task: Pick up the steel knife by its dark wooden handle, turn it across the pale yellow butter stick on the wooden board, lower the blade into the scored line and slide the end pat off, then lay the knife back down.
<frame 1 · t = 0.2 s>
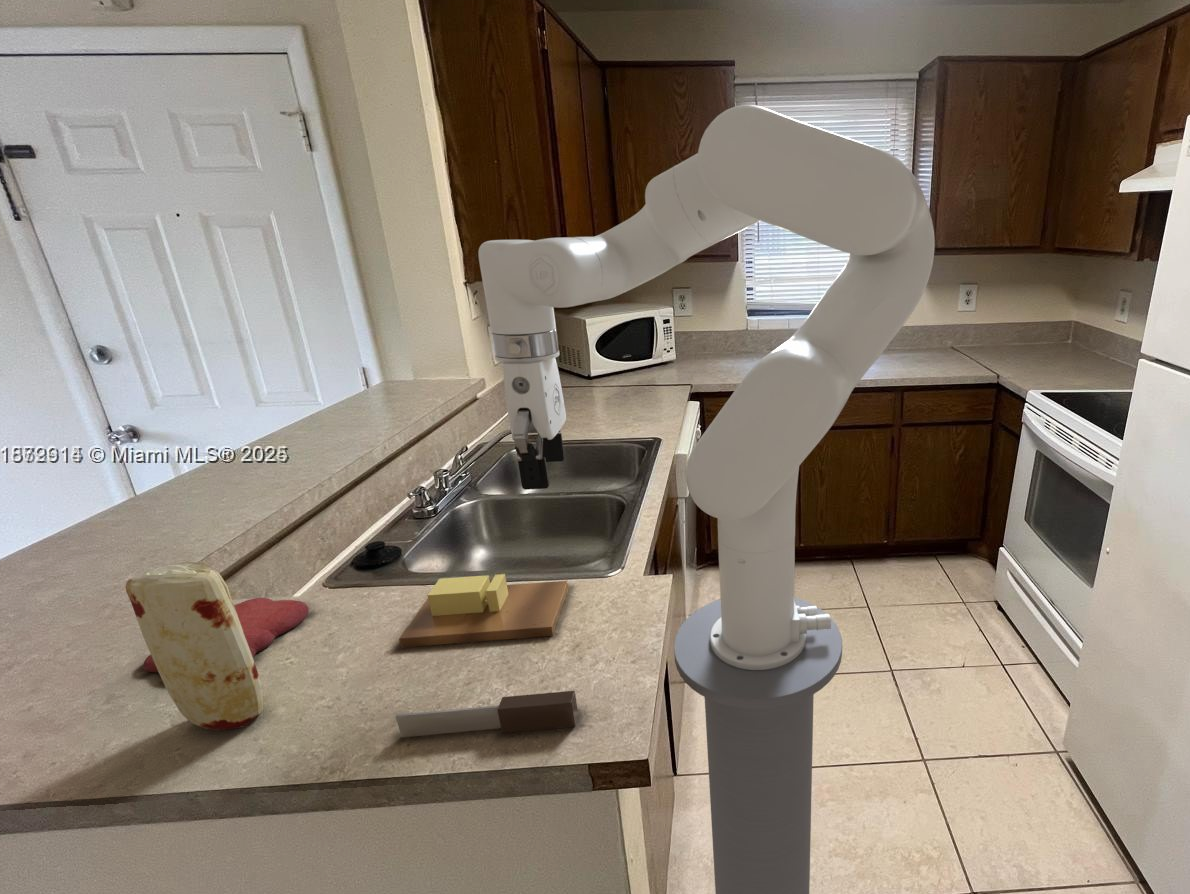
hand: (545, 473, 81), 22 cm above the counter, tool pointing down, fingers open, 9 cm apart
butter: (463, 605, 89), point 1 cm above the counter, touching cutting board
knife: (504, 727, 69), on the counter
butter pat: (499, 602, 90), point 1 cm above the counter, touching cutting board
food model: (232, 719, 71), on the counter
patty: (234, 640, 85), on the counter
cutting board: (491, 616, 89), on the counter
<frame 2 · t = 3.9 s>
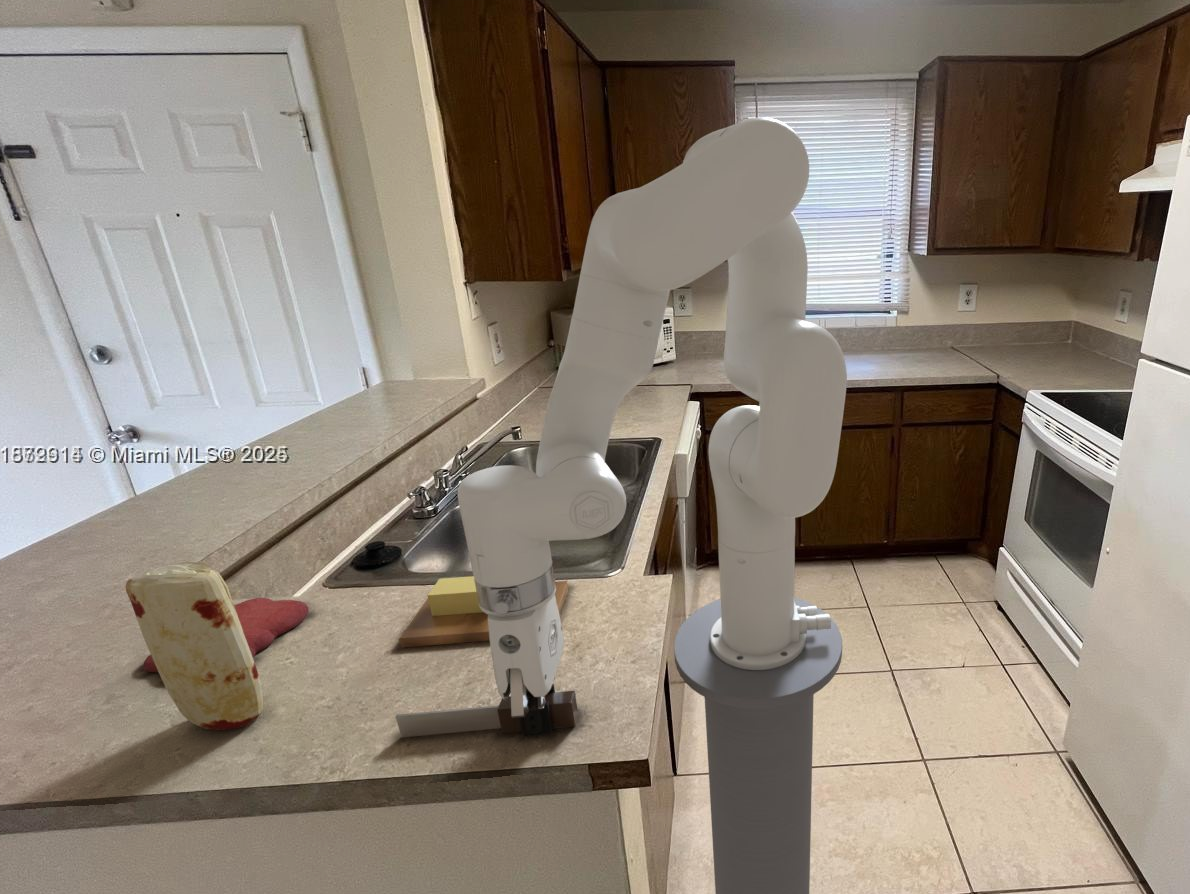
hand: (540, 722, 69), 0 cm above the counter, tool pointing down, fingers closed on knife, 2 cm apart
knife: (504, 727, 69), on the counter, touching gripper
everything else where it was.
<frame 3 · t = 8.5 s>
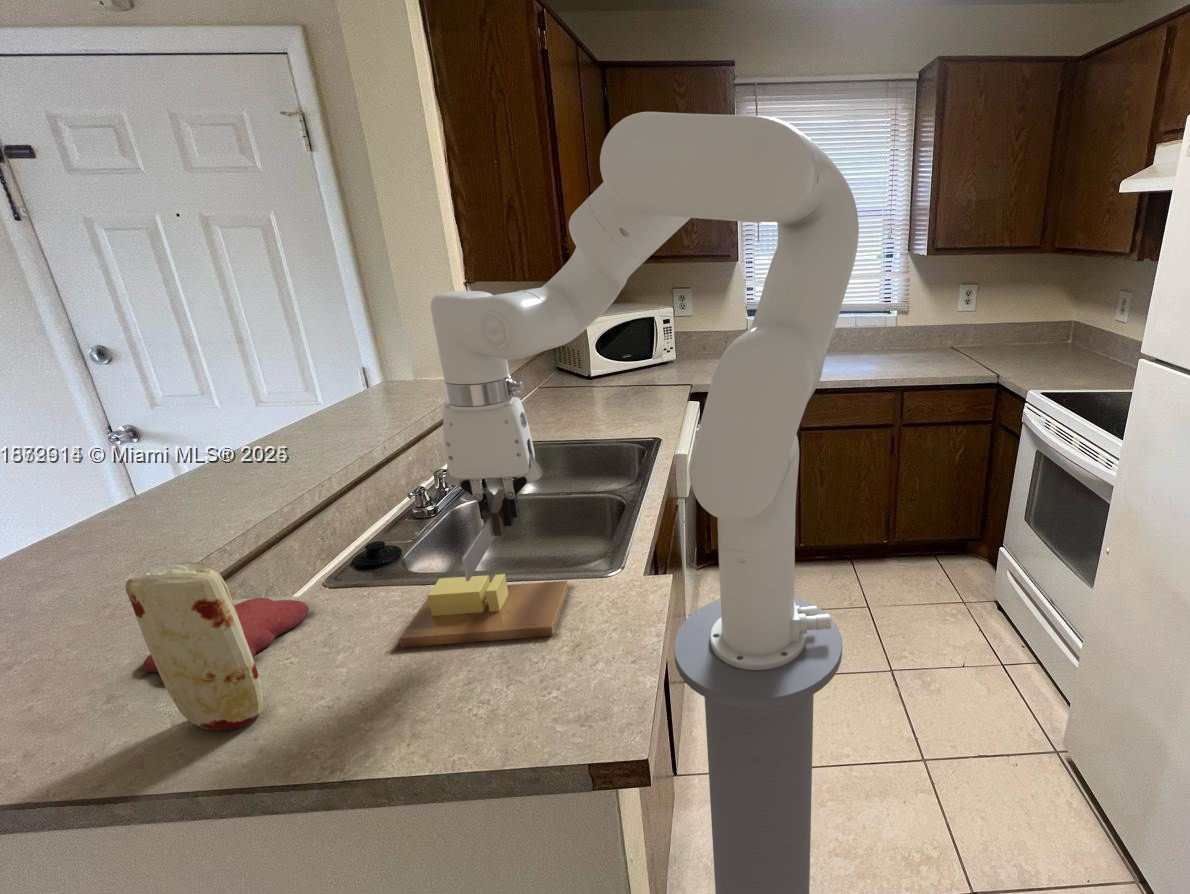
hand: (501, 521, 84), 15 cm above the counter, tool pointing down, fingers closed on knife
knife: (494, 536, 80), point 15 cm above the counter, touching gripper
everything else where it was.
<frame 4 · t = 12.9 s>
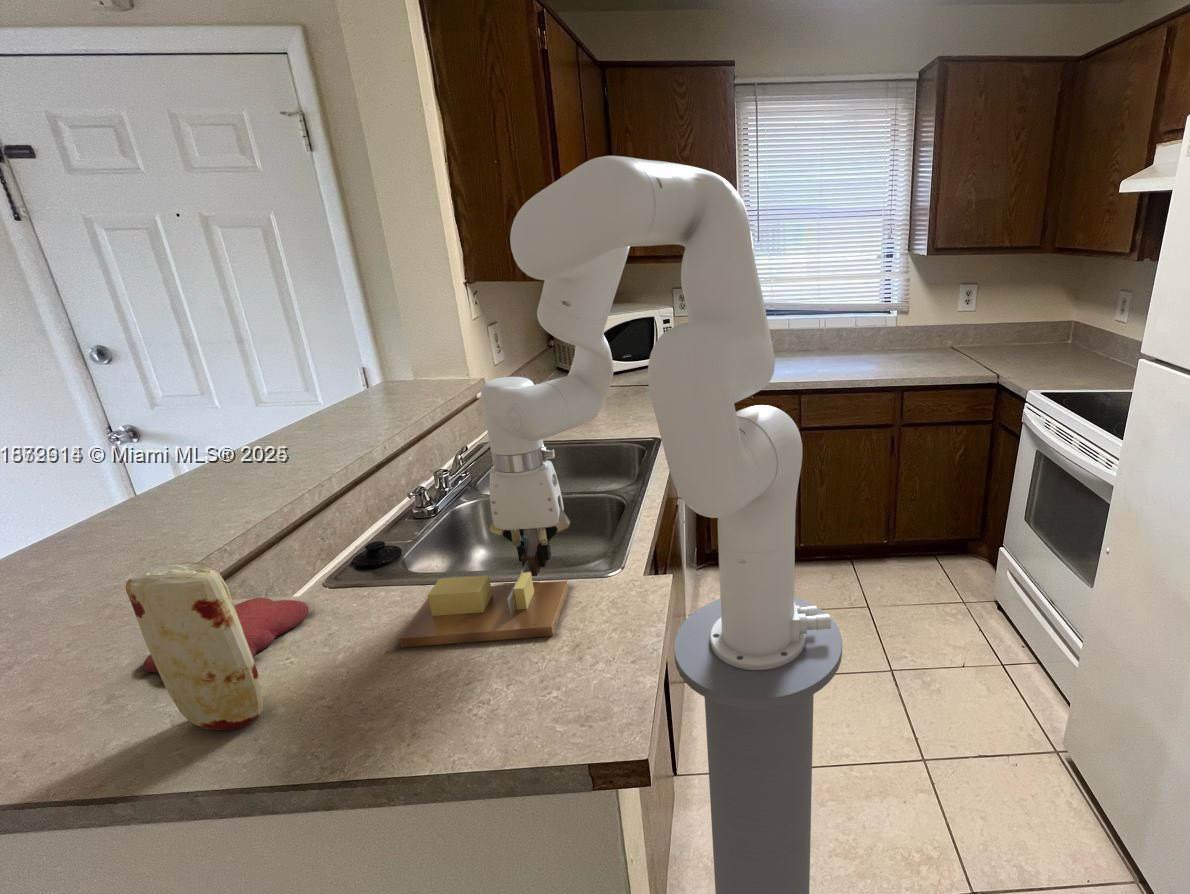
hand: (536, 563, 100), 2 cm above the counter, tool pointing down, fingers closed on knife, 2 cm apart
knife: (530, 576, 96), point 2 cm above the counter, touching butter pat, gripper
butter pat: (525, 600, 90), point 1 cm above the counter, touching cutting board, knife
everything else where it was.
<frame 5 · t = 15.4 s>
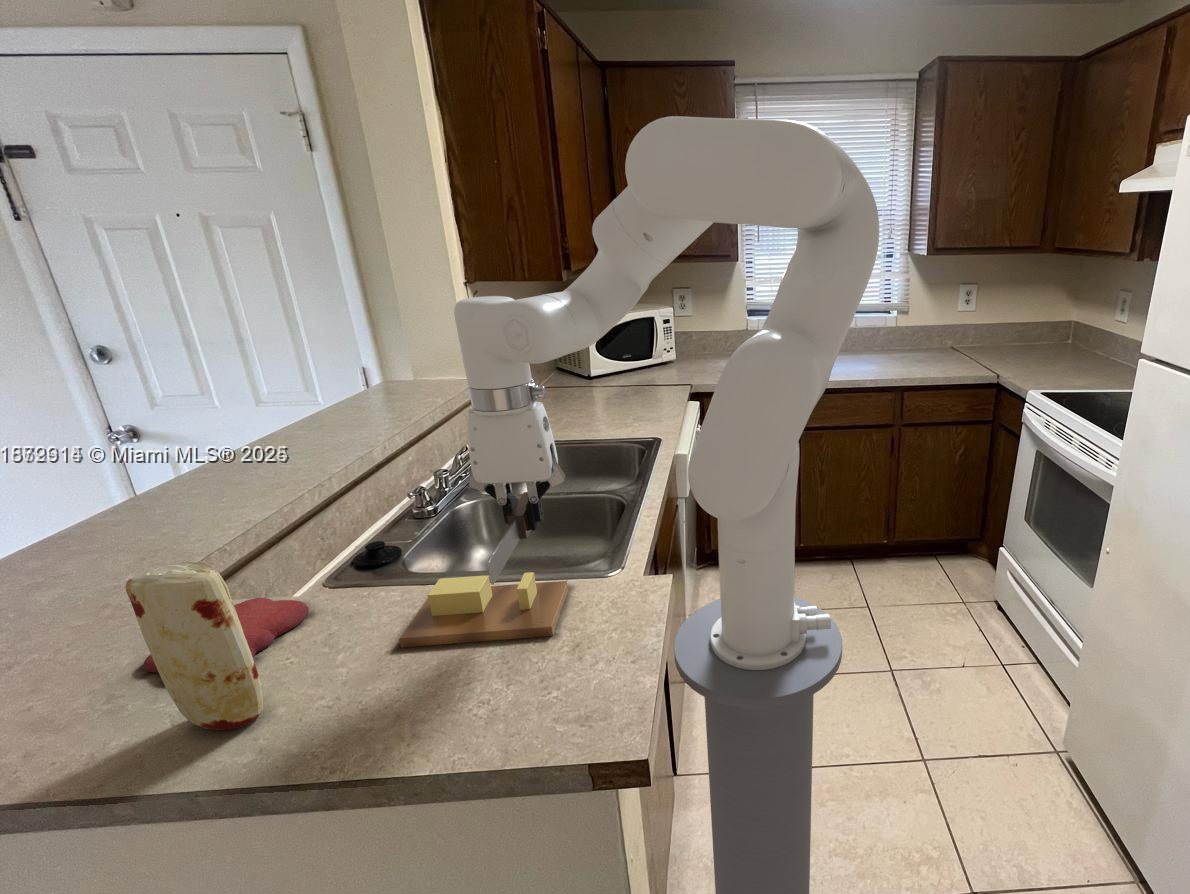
hand: (525, 525, 84), 15 cm above the counter, tool pointing down, fingers closed on knife
knife: (519, 539, 81), point 15 cm above the counter, touching gripper
butter pat: (528, 600, 90), point 1 cm above the counter, touching cutting board
everything else where it was.
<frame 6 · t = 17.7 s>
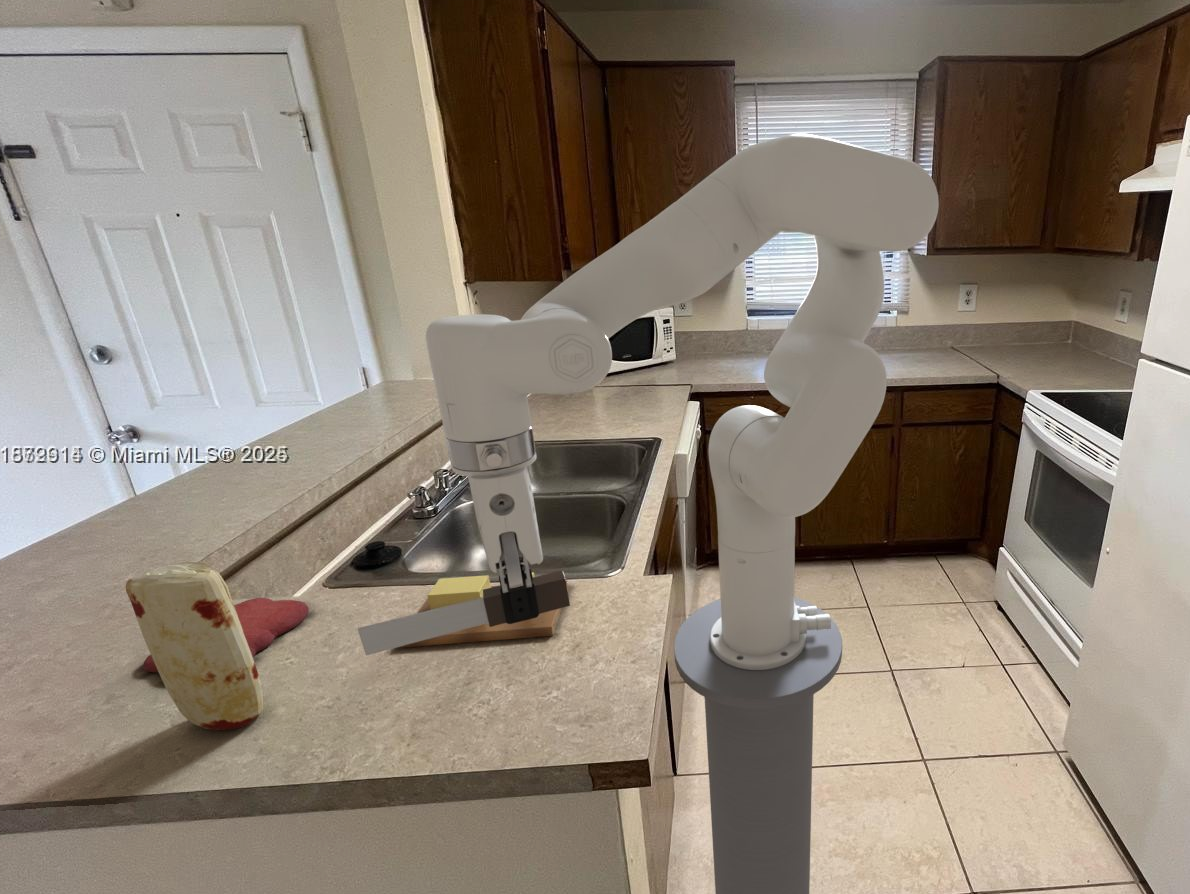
hand: (521, 611, 64), 15 cm above the counter, tool pointing down, fingers closed on knife
knife: (489, 622, 63), point 15 cm above the counter, touching gripper
everything else where it was.
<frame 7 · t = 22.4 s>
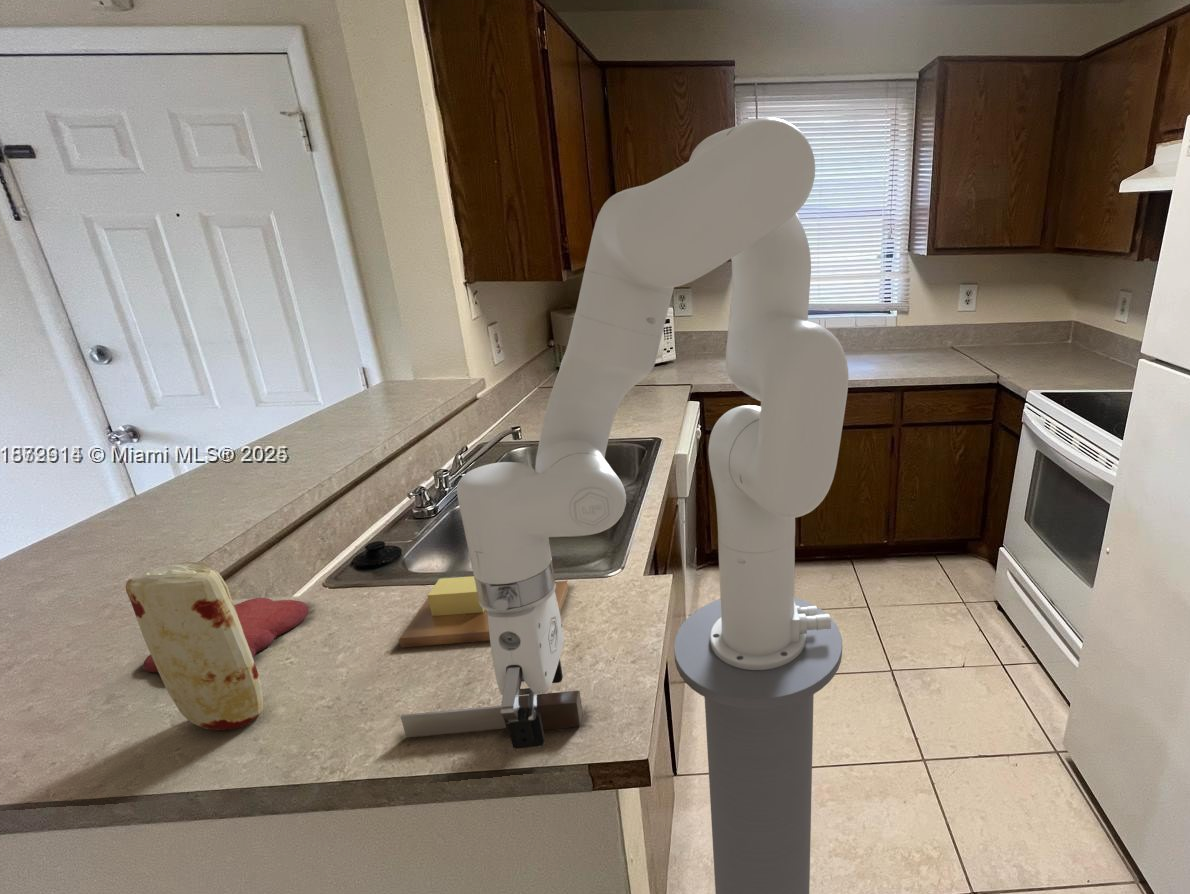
hand: (539, 711, 69), 2 cm above the counter, tool pointing down, fingers open, 9 cm apart
knife: (509, 727, 69), on the counter
everything else where it was.
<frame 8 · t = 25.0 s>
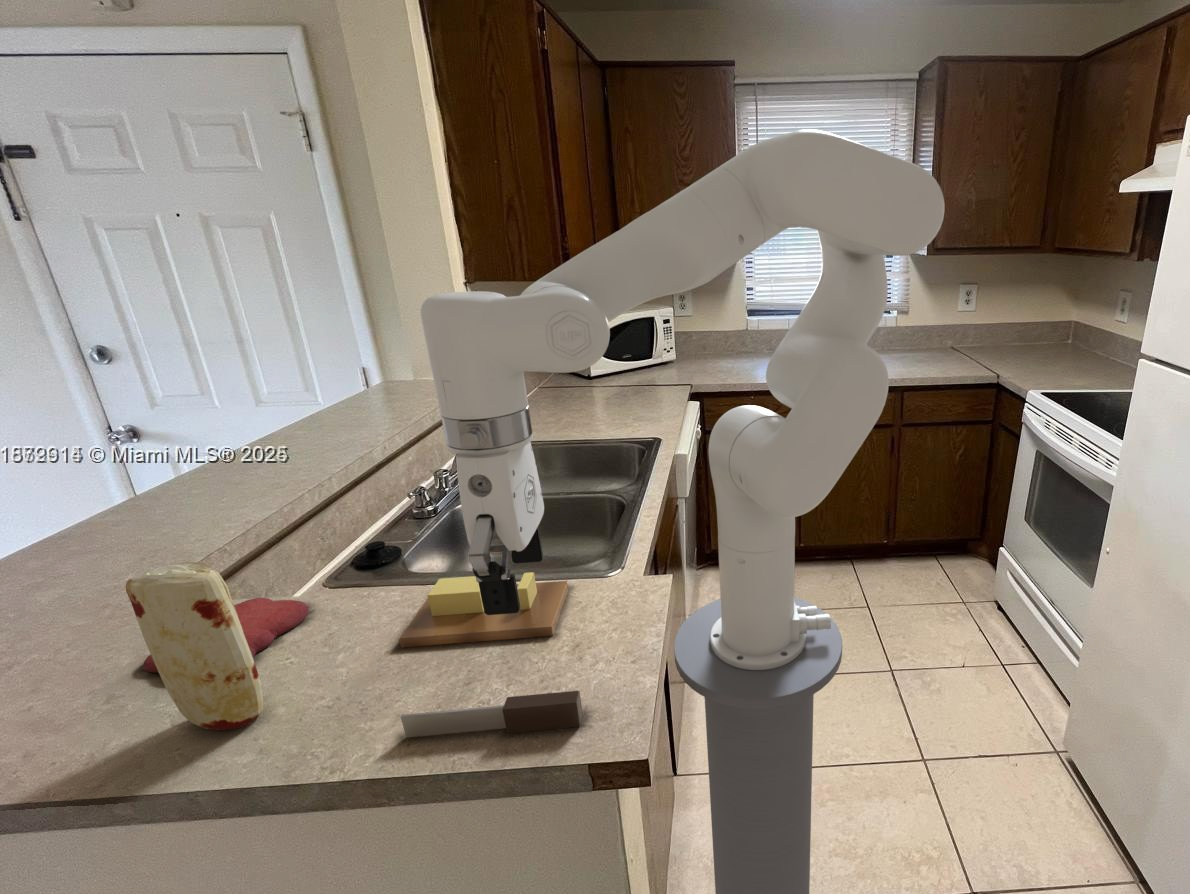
hand: (516, 585, 63), 18 cm above the counter, tool pointing down, fingers open, 9 cm apart
nothing on the counter moved.
at the end: butter pat moved 4.2 cm from its start; butter moved 0.0 cm from its start; the gripper is holding nothing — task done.
